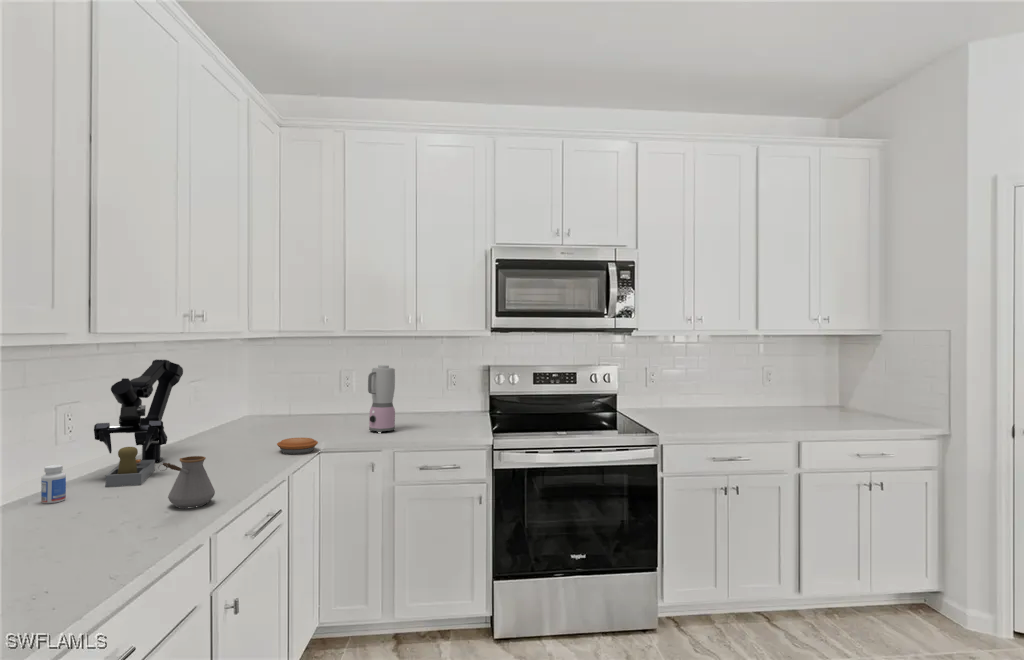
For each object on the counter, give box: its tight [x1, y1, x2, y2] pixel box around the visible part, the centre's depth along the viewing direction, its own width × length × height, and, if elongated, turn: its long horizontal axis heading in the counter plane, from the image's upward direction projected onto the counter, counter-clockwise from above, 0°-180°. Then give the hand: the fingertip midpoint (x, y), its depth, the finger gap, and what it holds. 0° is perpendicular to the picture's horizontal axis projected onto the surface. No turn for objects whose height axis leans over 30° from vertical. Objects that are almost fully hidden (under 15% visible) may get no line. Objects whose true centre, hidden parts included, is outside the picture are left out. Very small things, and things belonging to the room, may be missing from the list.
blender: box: [367, 364, 396, 433], centre depth 284 cm, size 16×12×32 cm
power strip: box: [104, 458, 156, 488], centre depth 190 cm, size 20×9×4 cm, turn 21°
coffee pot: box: [157, 455, 216, 509], centre depth 159 cm, size 21×12×15 cm, turn 3°
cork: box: [117, 446, 139, 474], centre depth 185 cm, size 6×6×11 cm
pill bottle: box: [40, 464, 67, 504], centre depth 164 cm, size 6×5×10 cm
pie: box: [276, 437, 319, 455], centre depth 236 cm, size 15×16×5 cm
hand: (127, 451), depth 186 cm, fingers open, 9 cm apart
